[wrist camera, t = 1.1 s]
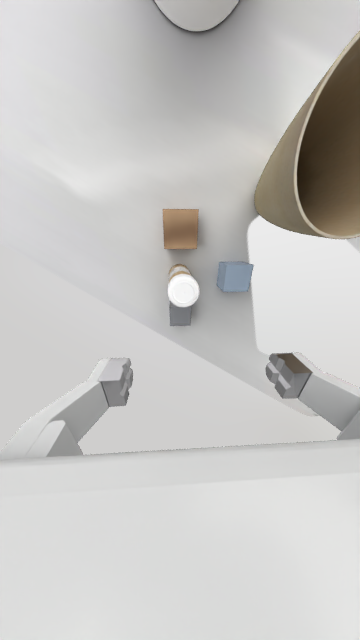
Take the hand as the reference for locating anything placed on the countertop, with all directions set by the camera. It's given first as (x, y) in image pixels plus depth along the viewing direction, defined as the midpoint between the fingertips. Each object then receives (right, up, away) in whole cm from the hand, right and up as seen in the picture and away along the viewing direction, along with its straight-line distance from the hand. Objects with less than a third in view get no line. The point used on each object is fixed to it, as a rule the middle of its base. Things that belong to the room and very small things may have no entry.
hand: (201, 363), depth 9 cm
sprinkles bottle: (-1, +12, +24) cm, 27 cm away
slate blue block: (+10, +13, +25) cm, 29 cm away
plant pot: (+16, +25, +19) cm, 35 cm away
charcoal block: (-1, +5, +28) cm, 28 cm away
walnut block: (-1, +20, +20) cm, 28 cm away
